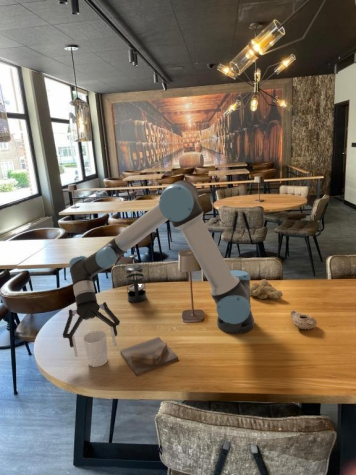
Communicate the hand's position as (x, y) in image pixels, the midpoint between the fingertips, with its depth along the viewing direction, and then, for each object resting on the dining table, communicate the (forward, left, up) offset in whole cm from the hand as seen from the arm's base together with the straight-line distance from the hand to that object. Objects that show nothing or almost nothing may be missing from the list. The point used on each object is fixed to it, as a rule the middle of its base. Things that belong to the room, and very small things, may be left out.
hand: (96, 350), depth 120 cm
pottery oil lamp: (-67, -45, -6) cm, 81 cm away
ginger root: (-48, -69, -6) cm, 84 cm away
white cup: (+1, -1, -5) cm, 6 cm away
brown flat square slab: (-16, -9, -5) cm, 19 cm away
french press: (+11, -51, -5) cm, 53 cm away
